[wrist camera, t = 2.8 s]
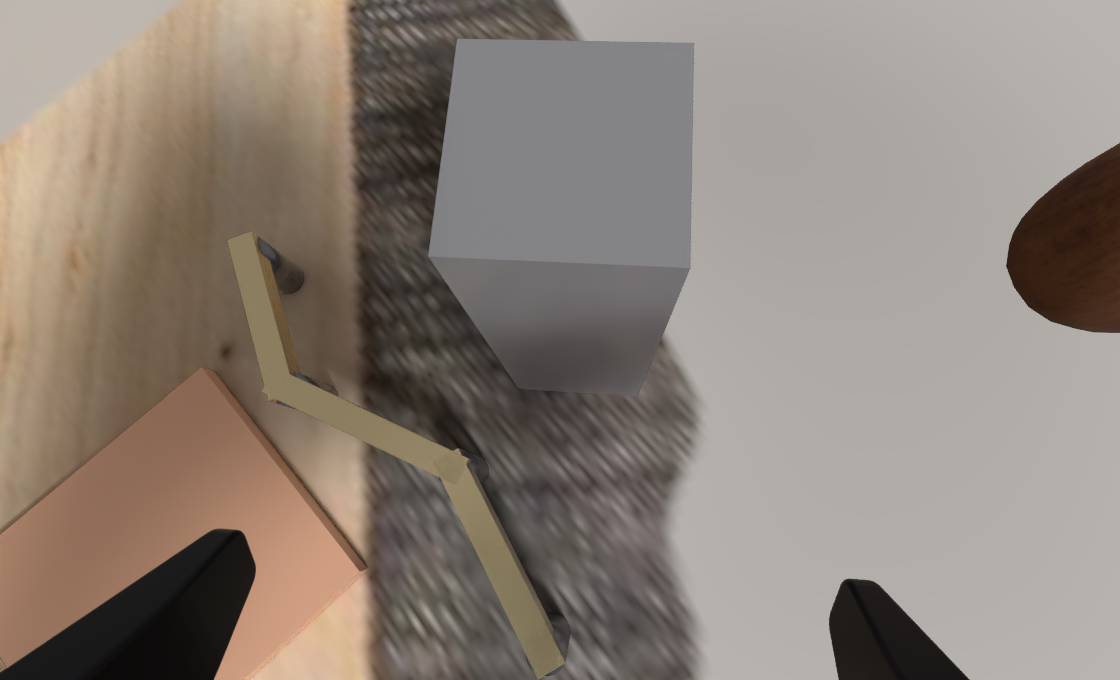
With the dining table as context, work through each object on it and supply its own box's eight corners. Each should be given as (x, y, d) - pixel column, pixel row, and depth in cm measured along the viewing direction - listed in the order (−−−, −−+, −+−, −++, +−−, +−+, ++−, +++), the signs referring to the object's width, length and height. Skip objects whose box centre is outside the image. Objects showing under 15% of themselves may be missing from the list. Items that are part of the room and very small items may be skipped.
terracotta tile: (368, 568, 22) (359, 571, 21) (113, 806, 20) (93, 818, 19) (214, 371, 24) (201, 366, 23) (-26, 571, 22) (-48, 574, 22)
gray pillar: (641, 283, 24) (694, 43, 11) (637, 396, 23) (690, 268, 10) (528, 278, 24) (457, 39, 12) (519, 388, 23) (428, 256, 10)
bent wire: (609, 601, 21) (611, 621, 18) (530, 681, 20) (517, 716, 17) (301, 252, 25) (256, 214, 22) (229, 311, 24) (172, 282, 21)
